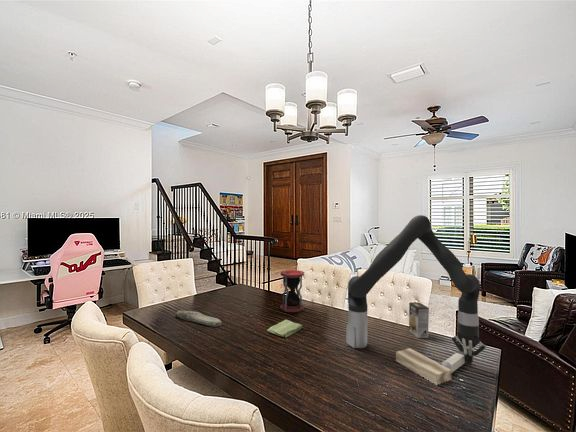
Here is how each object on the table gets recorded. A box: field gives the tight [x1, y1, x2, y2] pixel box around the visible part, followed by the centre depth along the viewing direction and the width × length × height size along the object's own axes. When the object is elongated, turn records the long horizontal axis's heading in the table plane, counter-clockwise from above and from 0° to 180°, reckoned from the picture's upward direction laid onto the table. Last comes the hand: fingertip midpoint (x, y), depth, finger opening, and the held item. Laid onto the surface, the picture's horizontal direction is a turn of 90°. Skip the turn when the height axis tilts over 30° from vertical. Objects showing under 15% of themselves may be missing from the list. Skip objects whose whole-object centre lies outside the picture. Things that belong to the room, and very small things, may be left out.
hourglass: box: [279, 269, 305, 313], centre depth 195 cm, size 16×16×25 cm
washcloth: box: [266, 319, 303, 339], centre depth 158 cm, size 13×18×3 cm
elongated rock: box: [176, 310, 222, 328], centre depth 172 cm, size 35×5×10 cm
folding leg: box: [441, 350, 467, 374], centre depth 121 cm, size 18×4×4 cm, turn 128°
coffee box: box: [408, 301, 430, 339], centre depth 154 cm, size 9×6×16 cm
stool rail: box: [395, 348, 452, 386], centre depth 118 cm, size 8×20×4 cm, turn 25°
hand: (468, 363), depth 121 cm, fingers closed
